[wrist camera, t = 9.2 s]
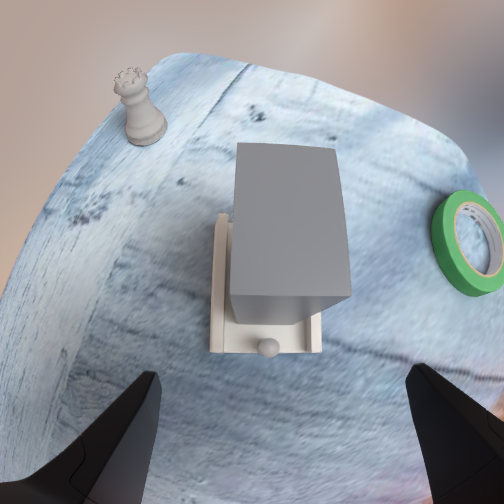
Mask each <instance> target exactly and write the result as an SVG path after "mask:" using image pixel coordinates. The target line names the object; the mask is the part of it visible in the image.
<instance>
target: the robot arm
mask: <svg viewBox="0 0 504 504" xmlns="http://www.w3.org/2000/svg"><path fill="white" fill-rule="evenodd" d="M405 384H406V389H407V394H408V399H409V404H410V409H411V414H412V418H413V422H414V426H415V429H416V433H417V436H418V440H419V443H420V447H421V451H422V455H423V459H424V463H425V467H426V471H427V475H428V480H429V484H430V489H431V494H432V499H433V504H504V422H503V421H501V420H500V419H499V418H497V417H496V416H494V415H493V414H492V413H490V412H489V411H488V410H487V411H486V409H485V408H484V407H482V406H481V405H480V404H479V403H477V402H476V401H475V400H473V399H472V398H471V397H469V396H468V395H467V394H465V393H464V392H463V391H461V390H460V389H459V388H457V387H456V386H455V385H453V384H452V383H451V382H449V381H448V380H447V379H445V378H444V377H442V376H441V375H440V374H438V373H437V372H436V371H434V370H433V369H432V368H430V367H429V366H428V365H426V364H425V363H417V364H414V365H413V366H412V368H411V370H410V372H409V374H408V375H407V377H406V381H405ZM161 393H162V388H161V384H160V380H159V377H158V374H157V372H155V371H147V370H146V371H144V372H143V373H142V374H141V375H140V376H139V377H138V378H137V379H136V380H135V381H134V382H133V383H132V384H131V385H130V386H129V387H128V388H127V389H126V390H125V391H124V392H123V393H122V394H121V395H120V396H119V397H118V398H117V399H116V400H115V401H114V402H113V403H112V404H111V405H110V406H109V407H108V408H107V409H106V410H105V411H104V412H103V413H102V414H101V415H100V416H99V417H98V418H97V419H96V420H95V421H94V422H93V423H92V424H91V425H90V426H89V427H88V428H87V429H86V430H85V431H84V432H83V433H82V434H81V435H80V436H79V437H78V438H76V439H75V440H74V441H73V442H72V443H71V444H70V445H69V446H68V447H67V448H66V449H65V450H64V451H63V452H61V453H60V454H59V455H58V456H56V457H55V458H54V459H53V460H51V461H50V462H49V463H47V464H46V465H45V466H43V467H42V468H41V469H39V470H38V471H36V472H35V473H34V474H32V475H31V476H29V477H27V478H25V479H22V480H19V481H12V482H3V483H0V504H141V501H142V496H143V491H144V487H145V482H146V477H147V473H148V468H149V464H150V459H151V455H152V450H153V446H154V442H155V438H156V433H157V427H158V418H159V410H160V401H161Z"/></svg>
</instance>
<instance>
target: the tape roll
mask: <svg viewBox="0 0 504 504" xmlns="http://www.w3.org/2000/svg"><path fill="white" fill-rule="evenodd" d="M458 213H463V214H466V215H468V216H470V217H471V218H472V219H474V220H475V221H476V222H477V223H478V225H479V226H480V227H481V229H482V230H483V232H484V234H485V236H486V239H487V241H488V245H489V250H490V263H489V268H488V270H487V272H486V274H485V275H484V274H481V273H480V272H478V271H477V270H476V269H474V268H473V267H472V266H471V264H470V263H469V262H468V261H467V259H466V257H465V255H464V253H463V251H462V250H461V249H460V246H459V242H458V239H457V235H456V218H457V214H458ZM431 237H432V244H433V249H434V252H435V256H436V258H437V261H438V264H439V266H440V268H441V270H442V271H443V273H444V275H445V276H446V278H447V279H448V280H449V282H450V283H451V284H452V285H453V286H454V287H455V288H456V289H457V290H459V291H460V292H461V293H463V294H465V295H468V296H472V297H477V296H482V295H485V294H488V293H490V292H493V291H496V290H497V289H499V288H500V287H501V286H502V285H503V284H504V225H503V222H502V221H501V218H500V217H499V215H498V214H497V212H496V211H495V209H494V208H493V207H492V206H491V205H490V203H489V202H488V201H486V200H485V199H484V198H483V197H481V196H480V195H478V194H476V193H474V192H472V191H467V190H459V191H456V192H454V193H453V194H451V195H450V196H449V197H448V198H447V199H446V200H445V201H443V202H442V203H441V204H440V205H439V206H438V207H437V209H436V211H435V213H434V215H433V219H432V225H431Z"/></svg>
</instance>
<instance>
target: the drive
mask: <svg viewBox="0 0 504 504" xmlns="http://www.w3.org/2000/svg"><path fill="white" fill-rule="evenodd" d="M350 296H352V292H351V275H350V262H349V250H348V239H347V230H346V221H345V212H344V204H343V197H342V189H341V182H340V176H339V169H338V163H337V157H336V151H335V149H331V148H321V147H310V146H298V145H284V144H266V143H237V155H236V172H235V189H234V207H233V226H232V247H231V270H230V299H231V302H232V306H233V310H234V314H235V318H236V322H237V324H242V325H294V324H296V323H298V322H300V321H302V320H304V319H307V318H309V317H311V316H313V315H315V314H317V313H319V312H321V311H323V310H325V309H327V308H329V307H331V306H333V305H335V304H337V303H339V302H341V301H343V300H345V299H347V298H349V297H350Z"/></svg>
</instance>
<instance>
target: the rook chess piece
mask: <svg viewBox="0 0 504 504" xmlns="http://www.w3.org/2000/svg"><path fill="white" fill-rule="evenodd" d="M118 75H119V78H118V77H116V78H115V80H114V81H115V83H116V84H115V87H114V92H115V93H116V94H119V95H121V103H123V104H125V107H126V112H127V121H126V127H125V130H126V133H127V137H128V139H129V141H130V142H131V143H133V144H134V145H141V146H146V145H151V144H153V143H155V142H157V141H158V140H159V139H160V138H161V137H162V136H163V135H164V133H165V131H166V130H167V121H166V119H165V116H164V114H163V113H162V112H161V111H160V110H158V109H157V107H155V106H153V104H152V102H151V100H150V99H149V95H148V94H149V89H148V87H146V86H145V85H146V83H147V81H148V76H147V75H146V74H144V73H142V71H141V69H140V68H136V69H135V71H134V70H133V68H129V69H128V73H126V74H124V72H123V71H122V72H120V73H119V74H118Z"/></svg>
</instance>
